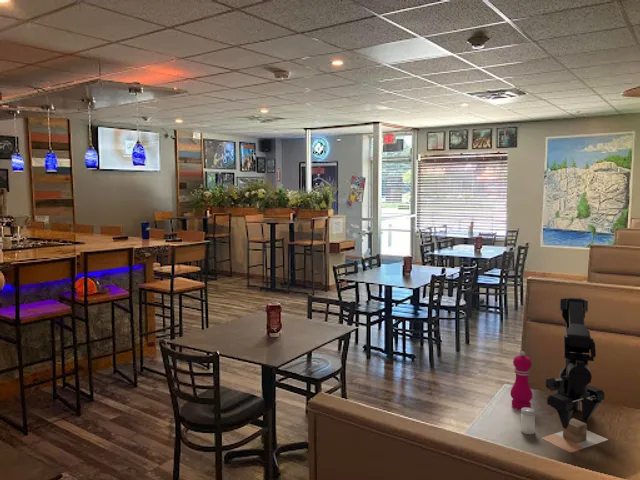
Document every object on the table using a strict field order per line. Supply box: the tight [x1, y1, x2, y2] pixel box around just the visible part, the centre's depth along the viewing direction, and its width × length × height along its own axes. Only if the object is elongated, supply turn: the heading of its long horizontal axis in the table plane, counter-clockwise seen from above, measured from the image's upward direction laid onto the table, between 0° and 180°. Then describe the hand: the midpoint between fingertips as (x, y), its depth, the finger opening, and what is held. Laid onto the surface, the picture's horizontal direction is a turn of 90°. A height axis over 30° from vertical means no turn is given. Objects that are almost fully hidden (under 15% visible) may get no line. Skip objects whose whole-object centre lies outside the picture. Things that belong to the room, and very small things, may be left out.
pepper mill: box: [510, 350, 533, 411], centre depth 176 cm, size 7×7×20 cm
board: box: [541, 429, 609, 454], centre depth 150 cm, size 17×10×1 cm, turn 117°
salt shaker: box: [520, 407, 536, 435], centre depth 155 cm, size 4×4×8 cm
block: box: [562, 417, 588, 444], centre depth 150 cm, size 4×4×5 cm
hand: (575, 424), depth 150 cm, fingers open, 9 cm apart
